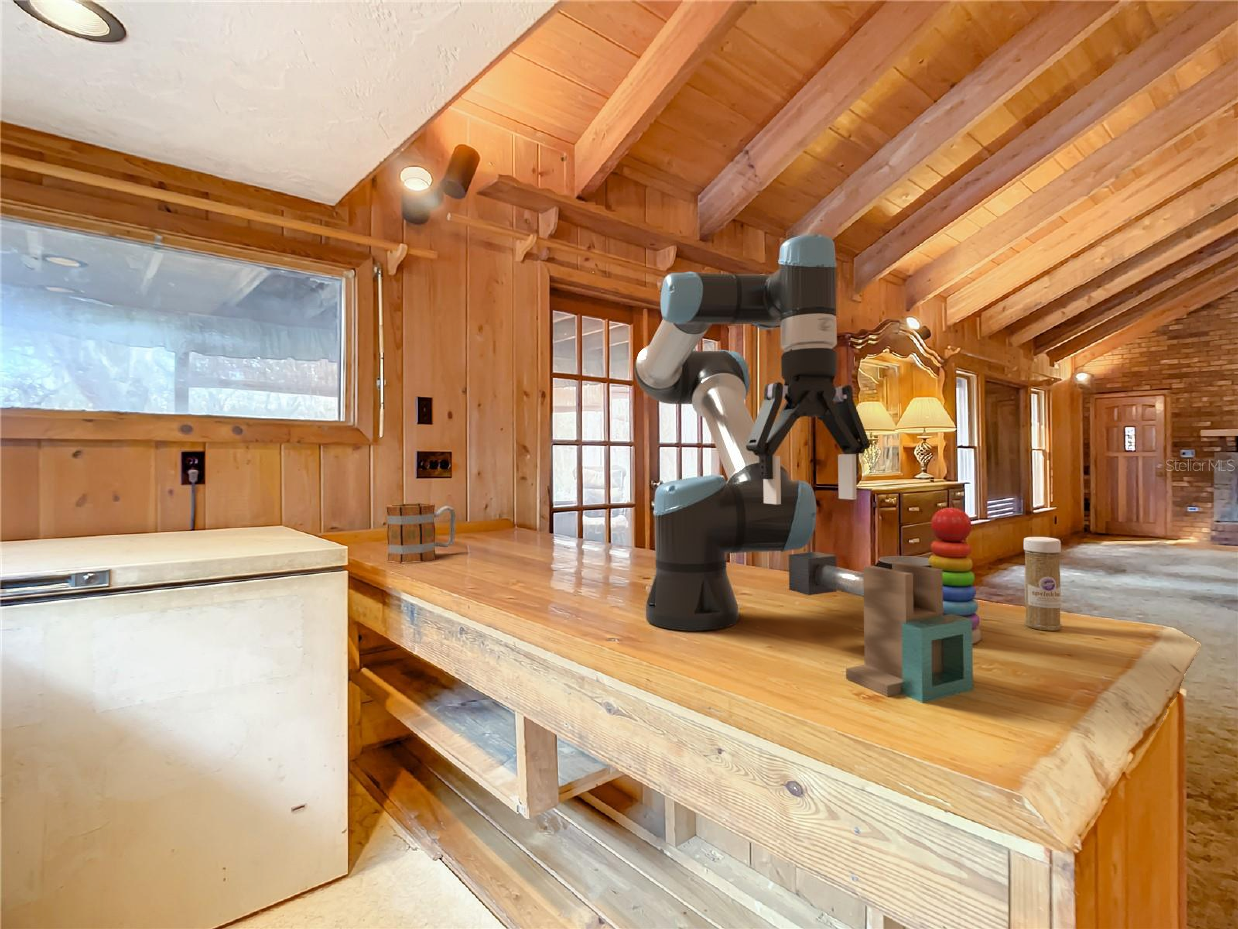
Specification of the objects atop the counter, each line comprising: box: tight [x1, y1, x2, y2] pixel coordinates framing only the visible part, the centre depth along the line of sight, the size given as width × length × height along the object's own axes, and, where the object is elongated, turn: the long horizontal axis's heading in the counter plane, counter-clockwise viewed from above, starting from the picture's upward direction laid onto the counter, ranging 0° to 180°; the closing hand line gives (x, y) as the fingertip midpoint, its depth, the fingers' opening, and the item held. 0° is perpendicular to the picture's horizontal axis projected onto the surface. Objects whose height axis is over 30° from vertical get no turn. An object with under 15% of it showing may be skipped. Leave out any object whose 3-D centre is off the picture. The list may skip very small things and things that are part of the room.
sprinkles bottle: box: [1023, 536, 1062, 632], centre depth 90 cm, size 5×5×13 cm
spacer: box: [902, 614, 974, 704], centre depth 67 cm, size 2×8×8 cm, turn 114°
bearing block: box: [845, 562, 943, 697], centre depth 71 cm, size 6×12×13 cm, turn 114°
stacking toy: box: [929, 507, 982, 645], centre depth 86 cm, size 8×8×19 cm
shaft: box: [788, 551, 915, 600], centre depth 78 cm, size 18×5×5 cm, turn 24°
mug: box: [386, 502, 456, 562], centre depth 168 cm, size 20×14×15 cm
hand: (811, 501), depth 85 cm, fingers open, 13 cm apart
